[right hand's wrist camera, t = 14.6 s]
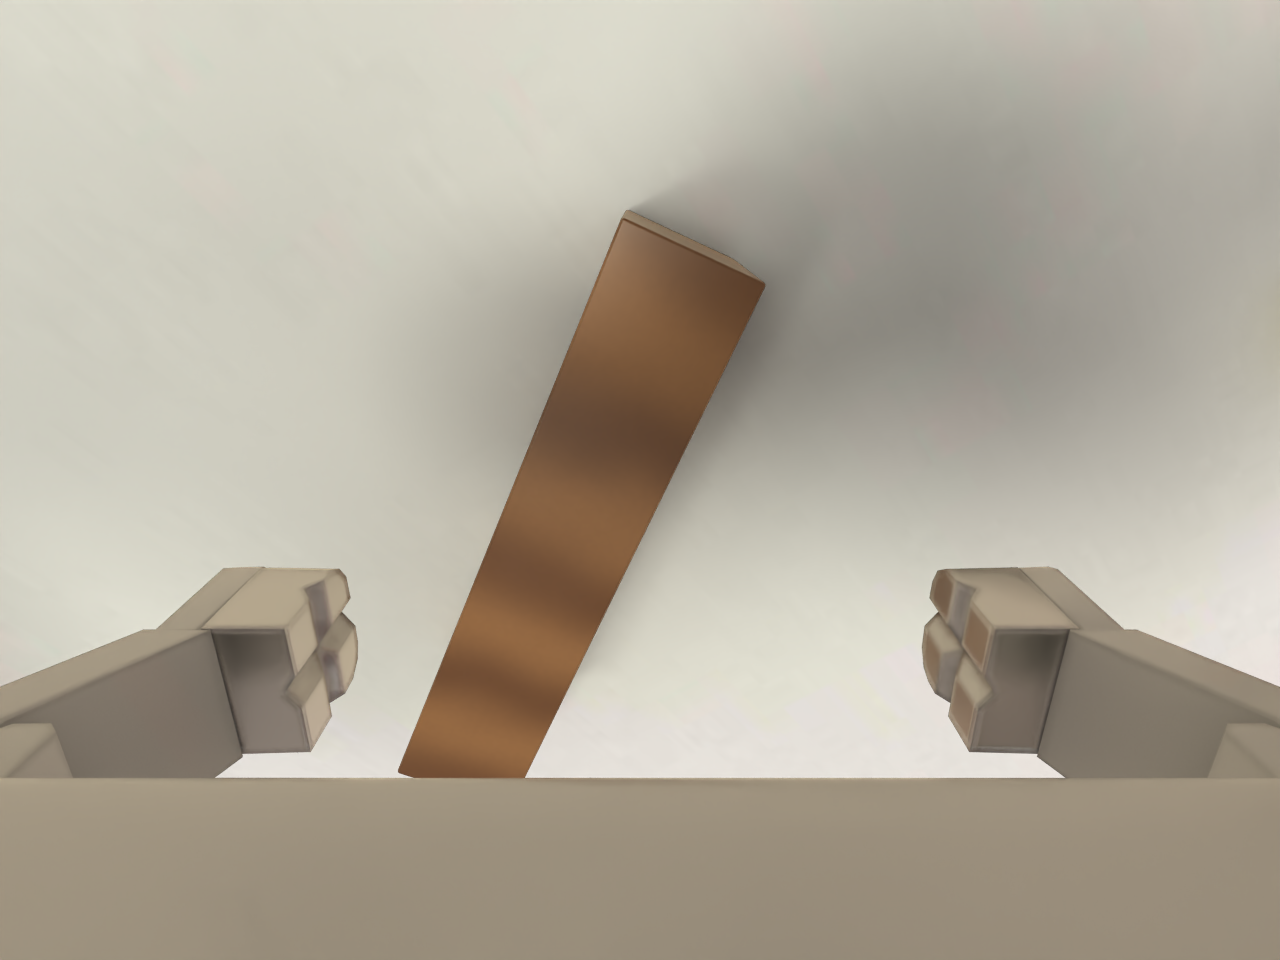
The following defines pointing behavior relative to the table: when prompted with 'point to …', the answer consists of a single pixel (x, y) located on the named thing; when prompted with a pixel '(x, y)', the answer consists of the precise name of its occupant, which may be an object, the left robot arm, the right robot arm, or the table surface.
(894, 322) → the table surface
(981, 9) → the table surface
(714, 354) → the bar
